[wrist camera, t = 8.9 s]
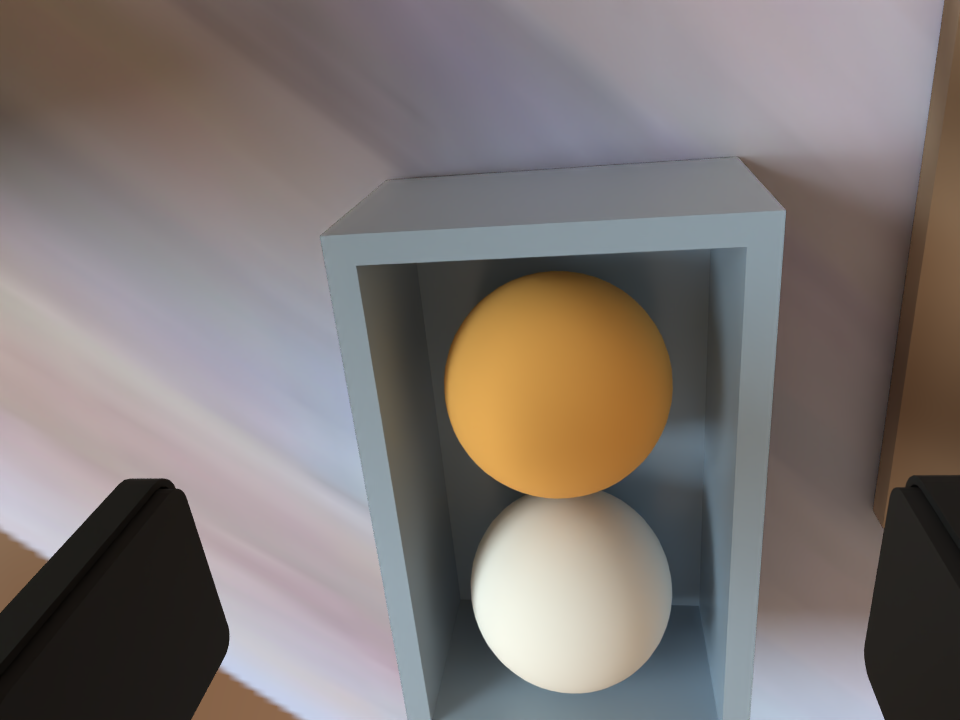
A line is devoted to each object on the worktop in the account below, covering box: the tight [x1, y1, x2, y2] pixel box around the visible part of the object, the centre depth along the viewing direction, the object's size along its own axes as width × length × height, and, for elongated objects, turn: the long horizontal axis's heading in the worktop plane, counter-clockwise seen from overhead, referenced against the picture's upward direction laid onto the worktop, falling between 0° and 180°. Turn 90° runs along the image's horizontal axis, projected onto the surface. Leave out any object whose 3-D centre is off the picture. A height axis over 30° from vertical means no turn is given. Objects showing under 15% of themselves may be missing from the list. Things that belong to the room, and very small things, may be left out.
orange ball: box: [444, 271, 673, 499], centre depth 17 cm, size 5×5×5 cm
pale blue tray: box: [320, 157, 786, 720], centre depth 18 cm, size 13×8×5 cm, turn 6°
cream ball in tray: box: [471, 491, 672, 693], centre depth 19 cm, size 5×5×5 cm
